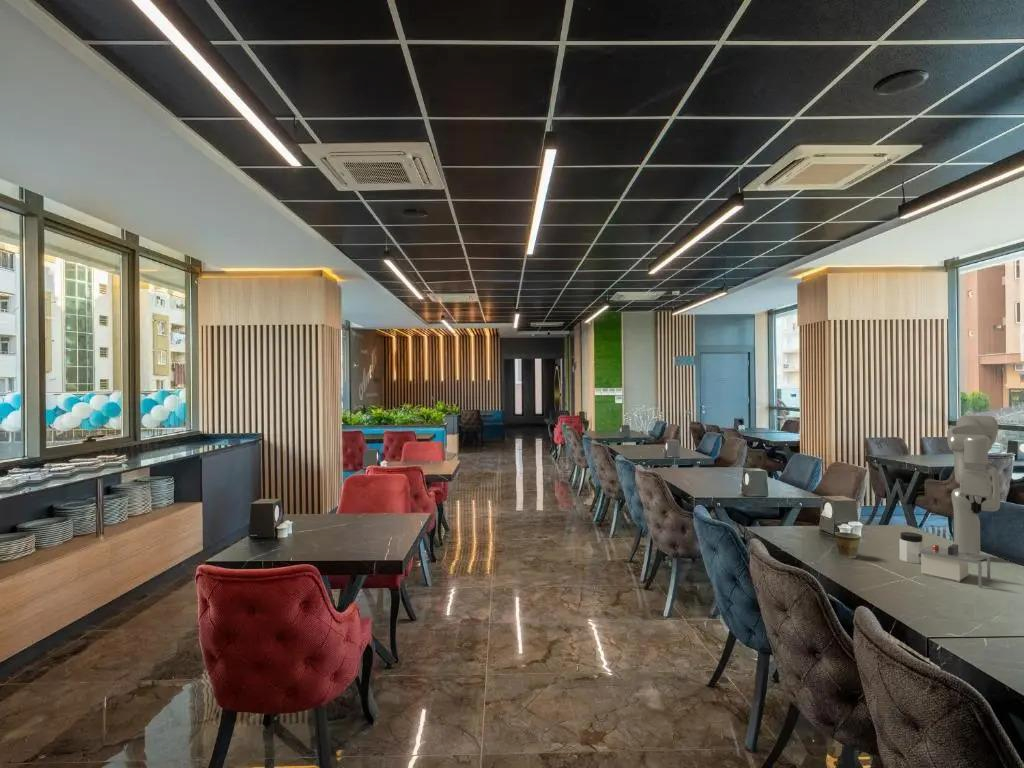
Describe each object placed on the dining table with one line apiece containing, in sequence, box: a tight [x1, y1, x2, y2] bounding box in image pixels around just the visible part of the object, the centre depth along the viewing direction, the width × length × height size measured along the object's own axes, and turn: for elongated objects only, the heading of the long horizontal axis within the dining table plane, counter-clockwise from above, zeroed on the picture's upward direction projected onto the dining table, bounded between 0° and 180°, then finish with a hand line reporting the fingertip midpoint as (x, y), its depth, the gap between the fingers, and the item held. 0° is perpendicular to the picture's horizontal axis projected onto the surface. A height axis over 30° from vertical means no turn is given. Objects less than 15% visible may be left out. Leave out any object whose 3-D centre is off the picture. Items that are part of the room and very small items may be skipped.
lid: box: [921, 543, 968, 558], centre depth 241 cm, size 11×13×4 cm
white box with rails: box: [918, 546, 991, 589], centre depth 239 cm, size 14×22×10 cm, turn 39°
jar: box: [899, 531, 924, 565], centre depth 262 cm, size 9×8×12 cm
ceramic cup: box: [834, 531, 861, 559], centre depth 271 cm, size 13×10×10 cm
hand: (976, 512), depth 235 cm, fingers closed
